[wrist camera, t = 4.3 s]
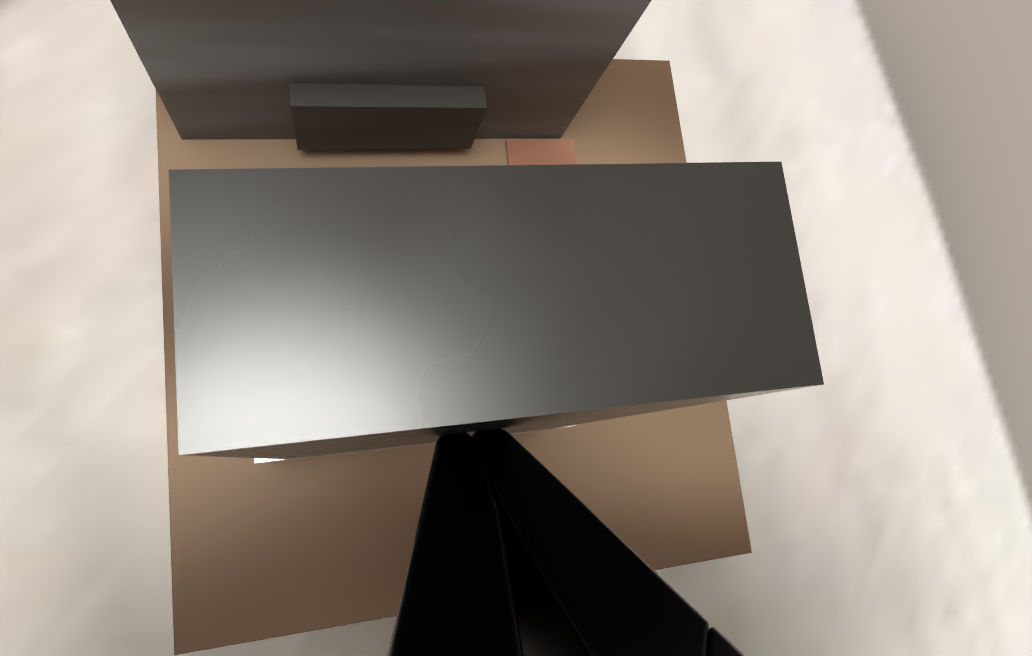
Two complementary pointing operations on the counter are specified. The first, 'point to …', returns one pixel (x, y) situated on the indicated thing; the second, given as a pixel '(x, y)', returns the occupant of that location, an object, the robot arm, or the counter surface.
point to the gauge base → (401, 143)
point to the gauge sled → (474, 300)
